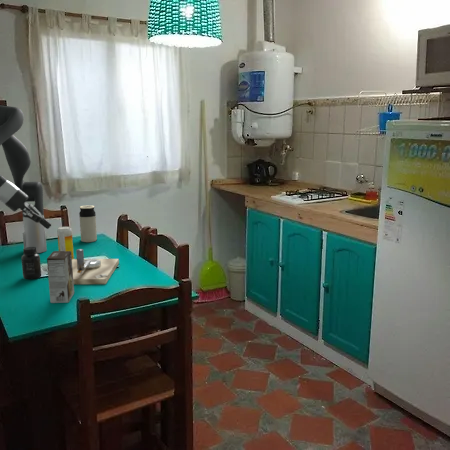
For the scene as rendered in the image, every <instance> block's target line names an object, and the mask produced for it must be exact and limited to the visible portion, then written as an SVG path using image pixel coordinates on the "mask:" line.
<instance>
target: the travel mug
mask: <svg viewBox="0 0 450 450" xmlns="http://www.w3.org/2000/svg"><path fill="white" fill-rule="evenodd" d="M79 210H80V211H79V213H78V215H79V228H80V230H79V231H80V241H81V242H83V243H93V242H96V241H97V239H98V236H97V234H98V233H97V218H96V217H97V216H96V211H95V205H92V204H91V205H81V206H79Z"/></svg>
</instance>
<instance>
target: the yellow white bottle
mask: <svg viewBox="0 0 450 450" xmlns="http://www.w3.org/2000/svg"><path fill="white" fill-rule="evenodd" d="M57 243H58V244H57V247H58V251H71V256H72V259H75V258H74V257H75V255H74V245H73V244H74V243H73V230H72V227H71V226H60V227H58V228H57Z"/></svg>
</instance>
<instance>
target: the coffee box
mask: <svg viewBox="0 0 450 450" xmlns="http://www.w3.org/2000/svg"><path fill="white" fill-rule="evenodd" d="M46 263H47V276H48V277H47V278H48V288H49V289H48V290H49V300H50V303H51V304H59V303H61V304H63V303H66V304H67V303H70V301H71V299H72V298H73V296H74V294H75V286H74V285H75V284H74V283H73V269H72V256H71V251H59V250H53V251H52V252H51V253H50V255H48V257H47V258H46Z"/></svg>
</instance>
